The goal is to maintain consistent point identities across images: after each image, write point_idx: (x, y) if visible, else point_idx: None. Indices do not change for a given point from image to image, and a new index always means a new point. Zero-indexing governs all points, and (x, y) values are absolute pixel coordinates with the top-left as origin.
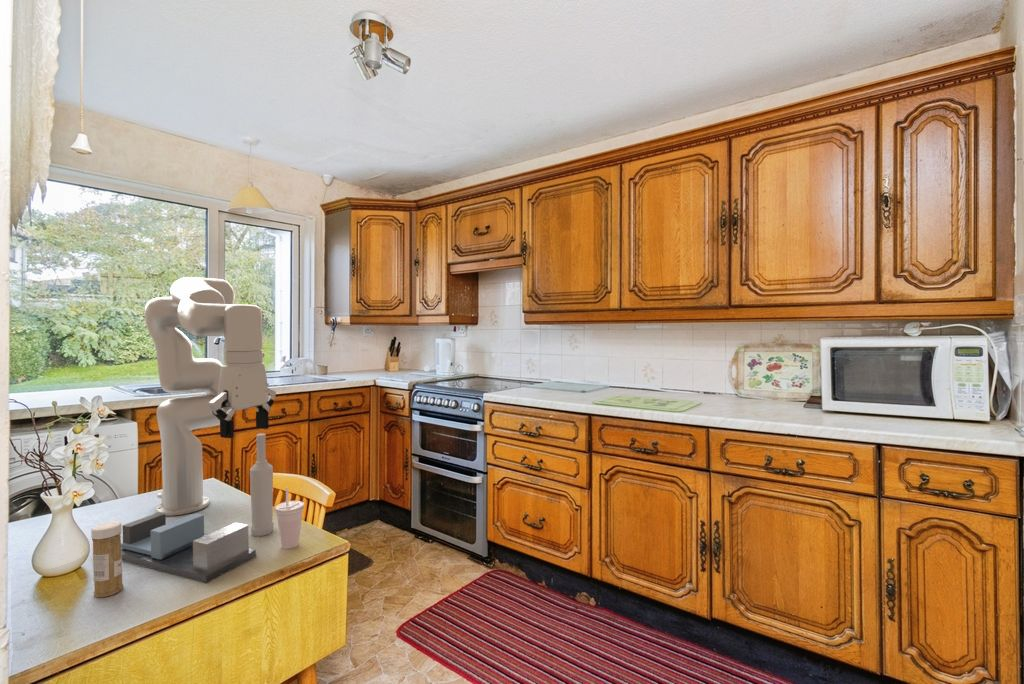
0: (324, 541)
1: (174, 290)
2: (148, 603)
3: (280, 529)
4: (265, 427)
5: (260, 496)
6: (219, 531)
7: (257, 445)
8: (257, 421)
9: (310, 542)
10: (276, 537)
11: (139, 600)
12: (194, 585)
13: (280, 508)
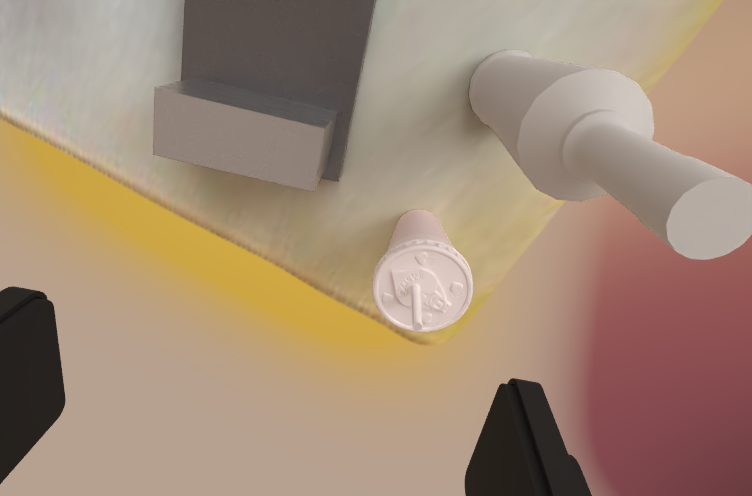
0: None
1: None
2: (67, 61)
3: (389, 243)
4: (467, 485)
5: (495, 133)
6: (242, 126)
7: (627, 173)
8: (509, 459)
9: None
10: (466, 161)
11: (66, 22)
12: None
13: (391, 275)
